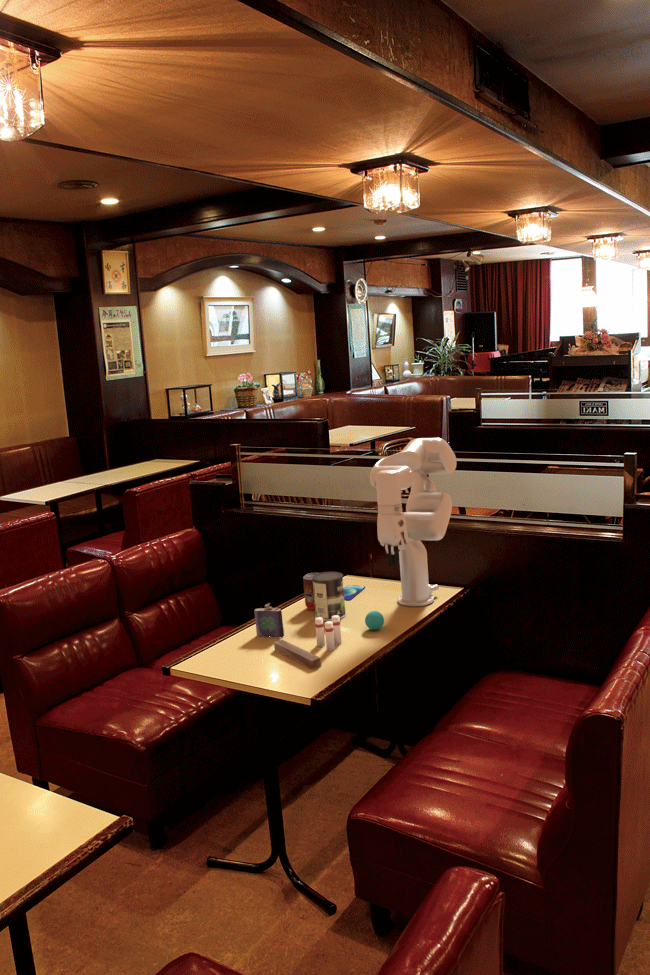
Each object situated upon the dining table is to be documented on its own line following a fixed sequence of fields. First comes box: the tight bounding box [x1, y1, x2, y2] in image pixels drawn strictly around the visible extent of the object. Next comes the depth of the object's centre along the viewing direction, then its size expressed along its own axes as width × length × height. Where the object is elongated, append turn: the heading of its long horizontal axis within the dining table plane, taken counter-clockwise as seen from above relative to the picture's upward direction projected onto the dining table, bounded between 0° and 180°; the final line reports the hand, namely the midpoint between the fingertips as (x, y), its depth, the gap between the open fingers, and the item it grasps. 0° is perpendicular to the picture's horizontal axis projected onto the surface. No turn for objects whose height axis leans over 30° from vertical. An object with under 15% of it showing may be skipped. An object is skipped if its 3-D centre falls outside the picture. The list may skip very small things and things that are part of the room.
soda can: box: [302, 572, 319, 612], centre depth 260 cm, size 7×7×12 cm
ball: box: [364, 610, 385, 631], centre depth 236 cm, size 6×6×6 cm
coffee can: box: [312, 571, 346, 622], centre depth 251 cm, size 10×10×14 cm
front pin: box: [331, 615, 343, 645], centre depth 227 cm, size 2×2×8 cm
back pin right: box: [314, 617, 326, 648], centre depth 227 cm, size 2×2×8 cm
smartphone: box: [343, 584, 366, 601], centre depth 275 cm, size 8×1×15 cm
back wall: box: [273, 639, 322, 670], centre depth 219 cm, size 3×20×2 cm, turn 36°
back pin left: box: [324, 621, 336, 652], centre depth 223 cm, size 2×2×8 cm
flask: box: [253, 602, 285, 638], centre depth 238 cm, size 9×3×11 cm, turn 73°
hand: (393, 565), depth 239 cm, fingers closed
